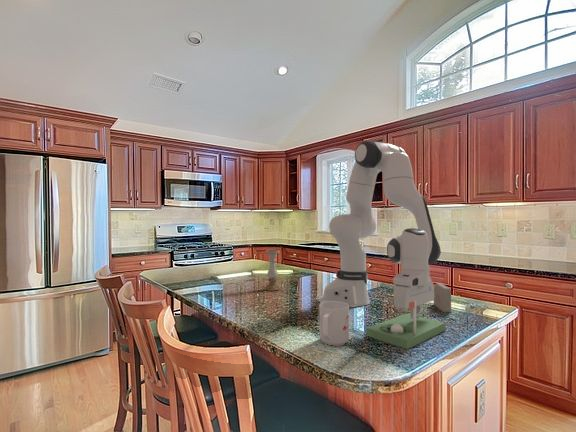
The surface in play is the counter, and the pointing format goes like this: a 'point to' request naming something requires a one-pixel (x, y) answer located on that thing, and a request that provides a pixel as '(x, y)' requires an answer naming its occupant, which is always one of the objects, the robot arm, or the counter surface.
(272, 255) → the candle holder
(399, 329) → the ball
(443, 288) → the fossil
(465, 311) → the counter surface
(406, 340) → the green
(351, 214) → the robot arm
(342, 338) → the mug
